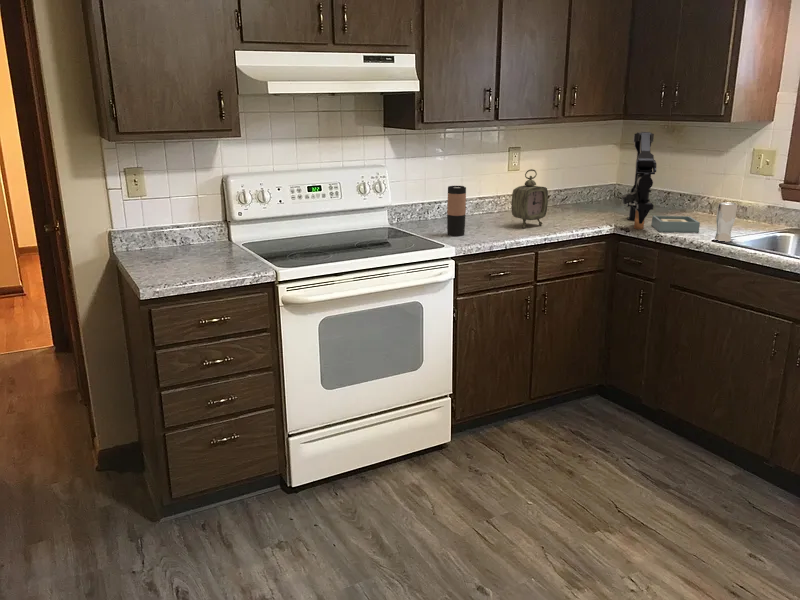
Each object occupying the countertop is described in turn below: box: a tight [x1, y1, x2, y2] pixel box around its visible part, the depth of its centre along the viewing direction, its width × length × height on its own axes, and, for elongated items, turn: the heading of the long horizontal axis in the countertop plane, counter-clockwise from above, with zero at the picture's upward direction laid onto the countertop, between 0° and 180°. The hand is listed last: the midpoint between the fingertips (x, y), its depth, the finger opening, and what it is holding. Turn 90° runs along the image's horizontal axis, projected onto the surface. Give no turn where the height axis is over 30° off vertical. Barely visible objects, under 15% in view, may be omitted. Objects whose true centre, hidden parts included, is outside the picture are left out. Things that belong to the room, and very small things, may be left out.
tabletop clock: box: [511, 168, 549, 229], centre depth 302 cm, size 14×9×25 cm, turn 126°
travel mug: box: [446, 185, 467, 237], centre depth 284 cm, size 8×8×20 cm
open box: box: [651, 215, 701, 233], centre depth 297 cm, size 15×16×4 cm
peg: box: [633, 207, 646, 230], centre depth 298 cm, size 4×4×9 cm
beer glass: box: [714, 201, 738, 243], centre depth 272 cm, size 7×7×15 cm
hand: (639, 222), depth 298 cm, fingers closed on peg, 4 cm apart
